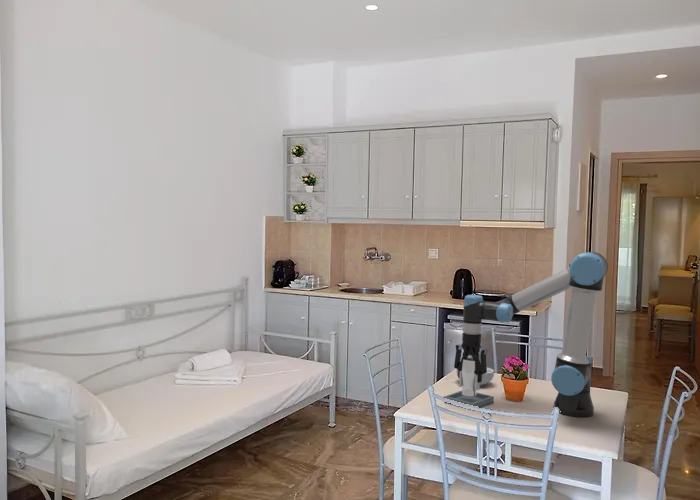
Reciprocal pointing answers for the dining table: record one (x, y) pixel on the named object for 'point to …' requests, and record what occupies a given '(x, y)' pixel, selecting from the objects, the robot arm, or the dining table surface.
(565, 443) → the dining table surface
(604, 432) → the dining table surface
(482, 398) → the tray
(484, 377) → the cereal bowl
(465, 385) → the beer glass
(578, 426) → the dining table surface
